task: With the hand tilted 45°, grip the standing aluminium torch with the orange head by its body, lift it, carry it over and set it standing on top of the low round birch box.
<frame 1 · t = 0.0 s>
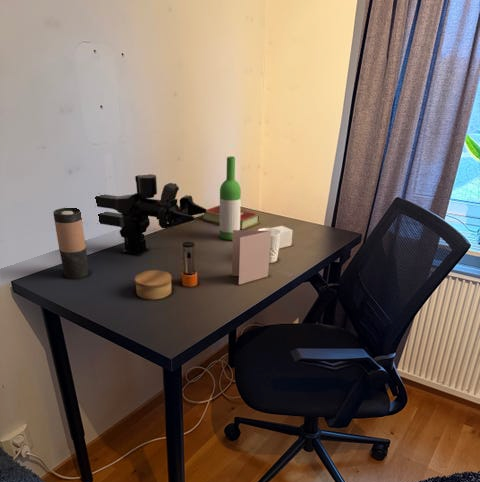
hand: (200, 214, 141), 17 cm above the table, tool horizontal, fingers open, 9 cm apart
hardcover book: (230, 221, 189), on the table
cream cube: (280, 244, 166), on the table
wine bottle: (229, 238, 171), on the table
white cup: (267, 259, 153), on the table
torch: (189, 283, 134), on the table
travel mug: (76, 274, 138), on the table
birch box: (154, 291, 129), on the table
greeting card: (250, 280, 138), on the table
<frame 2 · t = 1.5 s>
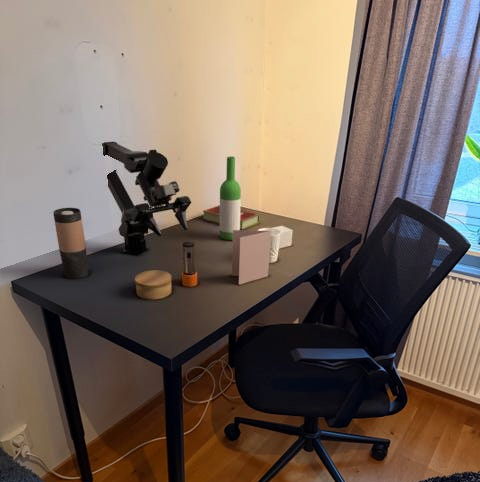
hand: (173, 232, 133), 14 cm above the table, tool tilted 45°, fingers open, 9 cm apart
nothing on the table moved.
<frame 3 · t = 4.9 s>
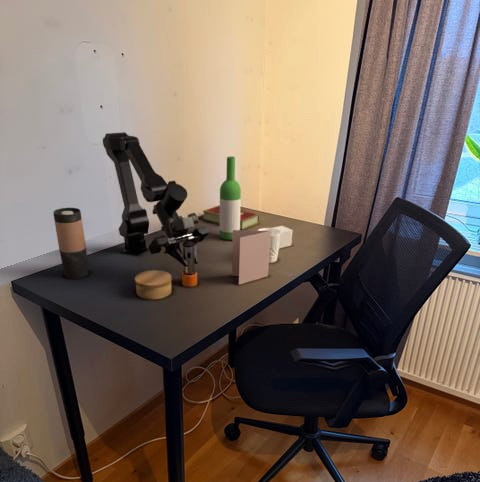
hand: (191, 264, 130), 7 cm above the table, tool tilted 45°, fingers closed on torch, 3 cm apart
torch: (189, 283, 134), on the table, touching gripper
everything else where it was.
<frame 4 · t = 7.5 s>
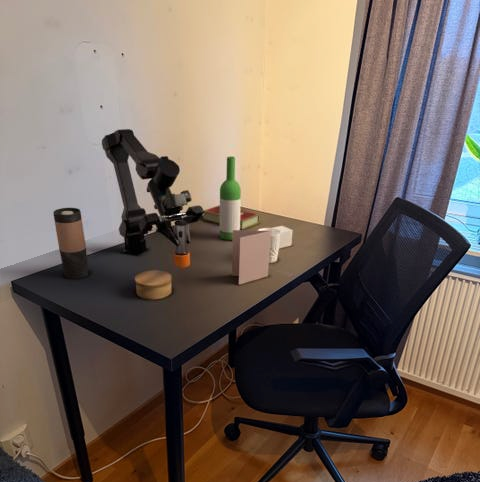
hand: (183, 244, 126), 13 cm above the table, tool tilted 45°, fingers closed on torch, 3 cm apart
torch: (182, 264, 130), point 7 cm above the table, touching gripper
everything else where it was.
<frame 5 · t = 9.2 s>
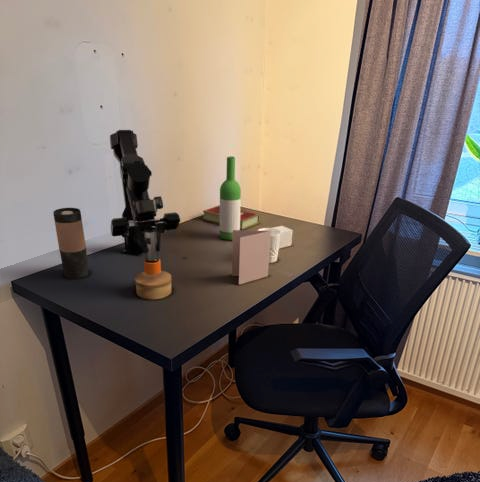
hand: (152, 251, 122), 13 cm above the table, tool tilted 45°, fingers closed on torch, 3 cm apart
torch: (152, 271, 126), point 6 cm above the table, touching gripper
everything else where it was.
when the fingers open (11 cm above the table, at t = 10.2 s): torch stays where it is, resting on birch box.
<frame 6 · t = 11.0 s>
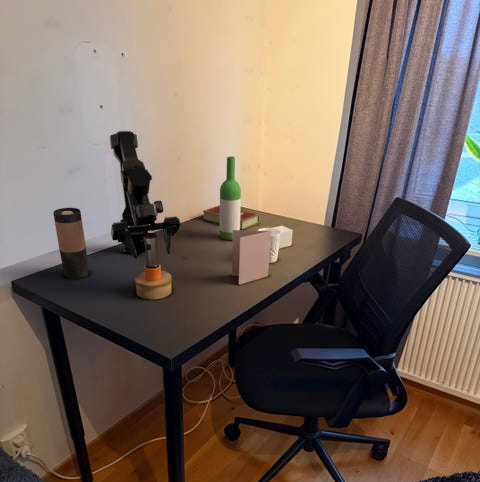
hand: (152, 255, 122), 12 cm above the table, tool tilted 45°, fingers open, 9 cm apart
torch: (153, 277, 127), point 4 cm above the table, touching birch box
everything else where it was.
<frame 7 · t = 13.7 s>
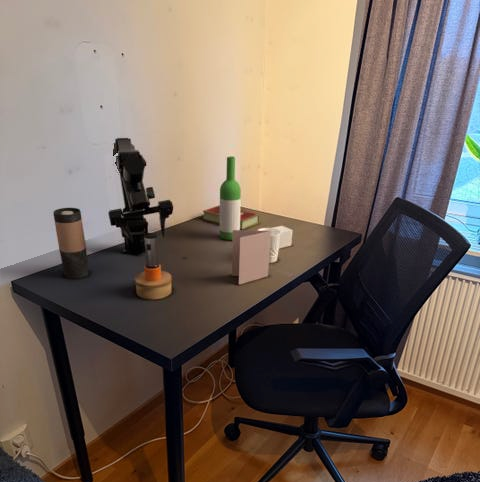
hand: (148, 239, 131), 13 cm above the table, tool tilted 40°, fingers open, 9 cm apart
nothing on the table moved.
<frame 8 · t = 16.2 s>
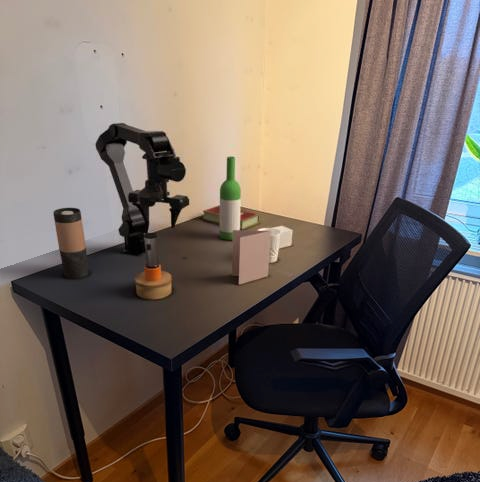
hand: (160, 225, 141), 13 cm above the table, tool pointing down, fingers open, 9 cm apart
nothing on the table moved.
at the end: torch 0.1 cm off-centre on the birch box, point 4.5 cm above the birch box's base; torch tilted 0°; the gripper is holding nothing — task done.
